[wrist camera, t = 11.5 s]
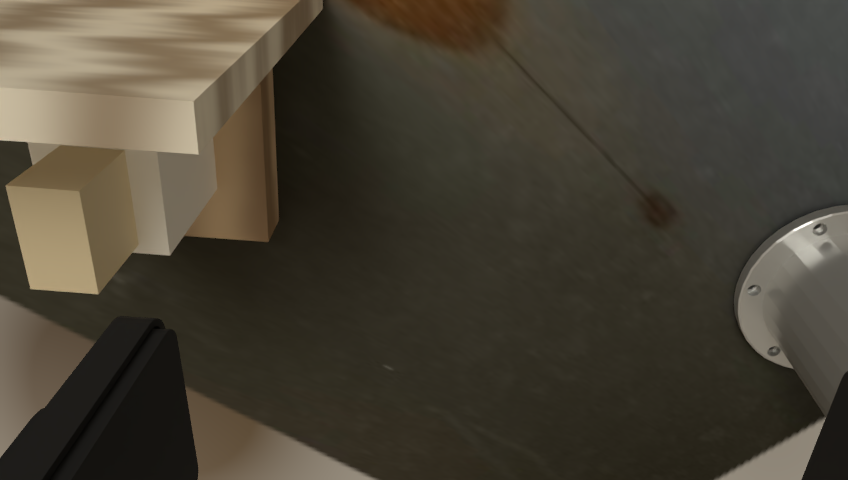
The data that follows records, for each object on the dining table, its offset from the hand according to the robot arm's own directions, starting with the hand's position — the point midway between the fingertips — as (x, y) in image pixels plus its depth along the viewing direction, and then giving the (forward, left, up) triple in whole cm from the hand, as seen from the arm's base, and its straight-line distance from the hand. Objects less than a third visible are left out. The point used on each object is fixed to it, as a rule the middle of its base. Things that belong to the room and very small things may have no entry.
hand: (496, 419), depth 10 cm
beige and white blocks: (+17, +6, -30) cm, 35 cm away
